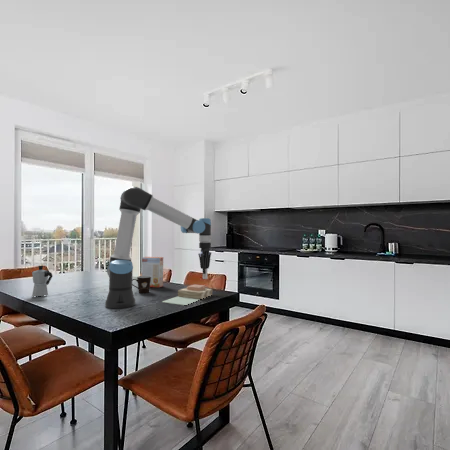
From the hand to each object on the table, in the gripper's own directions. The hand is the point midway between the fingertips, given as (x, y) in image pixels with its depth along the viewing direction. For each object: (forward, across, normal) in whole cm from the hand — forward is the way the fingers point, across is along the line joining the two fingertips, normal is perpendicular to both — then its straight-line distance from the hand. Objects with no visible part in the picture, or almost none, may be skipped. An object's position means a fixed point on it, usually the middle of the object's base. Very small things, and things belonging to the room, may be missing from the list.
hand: (205, 278), depth 194 cm
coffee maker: (+8, -55, +80) cm, 98 cm away
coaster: (+5, -10, 0) cm, 11 cm away
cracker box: (+9, +1, +43) cm, 44 cm away
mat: (+9, -26, 0) cm, 28 cm away
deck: (+9, -11, 0) cm, 14 cm away
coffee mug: (+9, -18, +36) cm, 42 cm away
